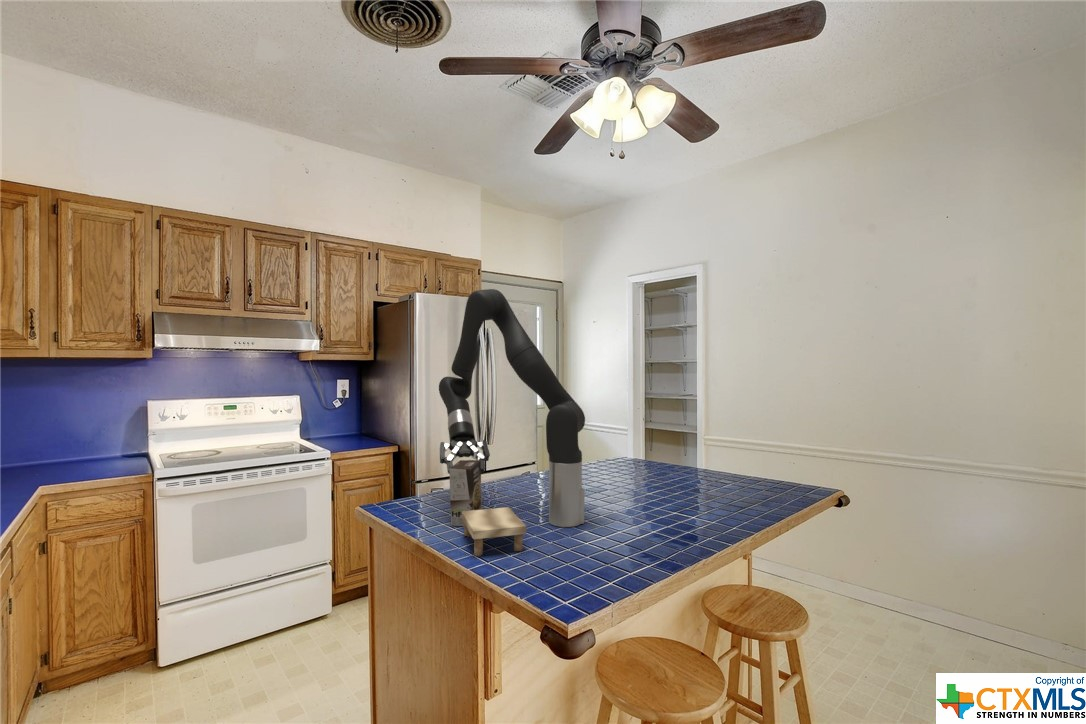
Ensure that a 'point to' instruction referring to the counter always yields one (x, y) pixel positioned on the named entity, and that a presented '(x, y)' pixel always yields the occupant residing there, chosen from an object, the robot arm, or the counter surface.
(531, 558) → the counter surface
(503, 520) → the footstool
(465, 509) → the coffee box
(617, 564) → the counter surface
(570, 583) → the counter surface
